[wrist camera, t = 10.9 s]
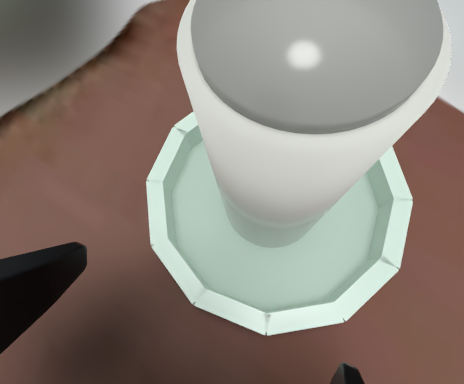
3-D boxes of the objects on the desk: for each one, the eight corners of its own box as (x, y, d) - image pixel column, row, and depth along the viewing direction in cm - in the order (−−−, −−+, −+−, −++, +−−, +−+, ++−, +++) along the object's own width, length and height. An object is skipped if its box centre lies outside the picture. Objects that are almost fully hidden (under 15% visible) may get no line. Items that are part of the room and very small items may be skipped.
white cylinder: (270, 268, 17) (323, 210, 5) (206, 199, 19) (118, 20, 6) (337, 202, 18) (527, 12, 6) (271, 143, 20) (305, -108, 7)
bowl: (355, 366, 16) (377, 382, 14) (125, 270, 19) (103, 267, 16) (404, 143, 21) (428, 119, 18) (210, 89, 23) (205, 61, 20)
